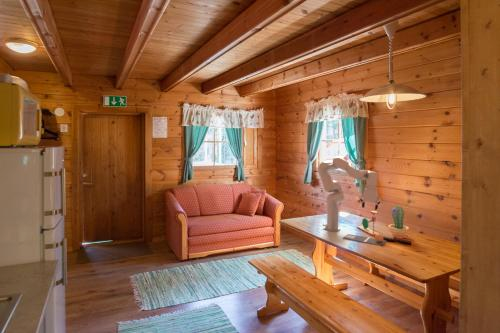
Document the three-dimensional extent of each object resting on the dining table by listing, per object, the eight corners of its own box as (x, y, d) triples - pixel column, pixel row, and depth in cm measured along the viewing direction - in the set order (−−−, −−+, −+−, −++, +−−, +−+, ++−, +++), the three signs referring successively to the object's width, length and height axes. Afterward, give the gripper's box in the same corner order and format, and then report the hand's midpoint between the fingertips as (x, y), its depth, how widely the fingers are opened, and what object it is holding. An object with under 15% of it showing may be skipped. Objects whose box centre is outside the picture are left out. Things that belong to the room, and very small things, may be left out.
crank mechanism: (379, 235, 275) (380, 212, 273) (372, 236, 273) (373, 212, 272) (363, 227, 299) (364, 206, 297) (356, 227, 298) (357, 206, 296)
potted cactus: (384, 233, 280) (385, 204, 277) (403, 233, 280) (404, 204, 278) (392, 239, 264) (393, 208, 262) (412, 239, 265) (413, 208, 262)
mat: (342, 238, 266) (342, 237, 266) (347, 234, 277) (347, 233, 276) (382, 245, 249) (382, 244, 249) (386, 241, 260) (386, 240, 260)
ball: (373, 242, 256) (374, 234, 255) (375, 239, 261) (376, 232, 260) (382, 243, 252) (382, 236, 252) (383, 241, 257) (384, 234, 257)
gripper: (358, 186, 263) (357, 207, 265) (381, 189, 253) (379, 211, 256) (361, 185, 269) (360, 205, 272) (384, 188, 260) (382, 209, 262)
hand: (369, 208), depth 264 cm, fingers open, 9 cm apart
